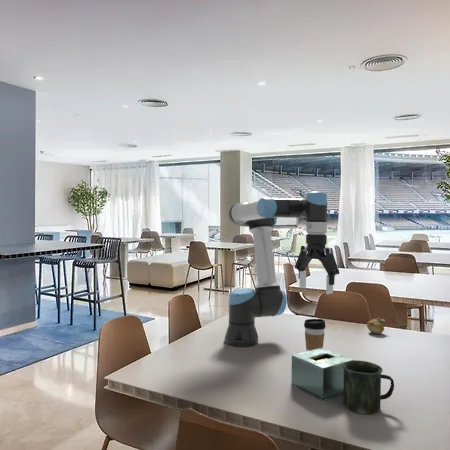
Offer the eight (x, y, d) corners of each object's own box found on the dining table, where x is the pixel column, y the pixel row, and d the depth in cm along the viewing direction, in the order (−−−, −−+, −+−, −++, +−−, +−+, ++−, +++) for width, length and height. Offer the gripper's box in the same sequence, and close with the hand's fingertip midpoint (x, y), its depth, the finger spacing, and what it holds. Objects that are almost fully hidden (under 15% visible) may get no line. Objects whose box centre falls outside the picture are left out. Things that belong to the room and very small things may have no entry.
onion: (369, 330, 201) (369, 314, 201) (385, 332, 197) (386, 316, 197) (364, 333, 195) (365, 317, 195) (381, 336, 191) (382, 319, 190)
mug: (339, 397, 125) (340, 359, 125) (389, 401, 122) (390, 362, 122) (343, 413, 114) (344, 372, 114) (398, 419, 111) (398, 376, 111)
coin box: (291, 384, 134) (291, 354, 134) (321, 376, 141) (321, 347, 141) (322, 400, 122) (323, 368, 122) (353, 390, 130) (353, 359, 130)
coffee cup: (325, 361, 156) (326, 323, 155) (303, 360, 157) (303, 322, 157) (324, 354, 164) (325, 318, 164) (303, 353, 166) (304, 317, 165)
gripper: (286, 232, 157) (285, 286, 157) (335, 235, 136) (334, 297, 137) (300, 232, 161) (299, 285, 162) (350, 234, 140) (349, 295, 141)
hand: (315, 290), depth 149 cm, fingers open, 13 cm apart
